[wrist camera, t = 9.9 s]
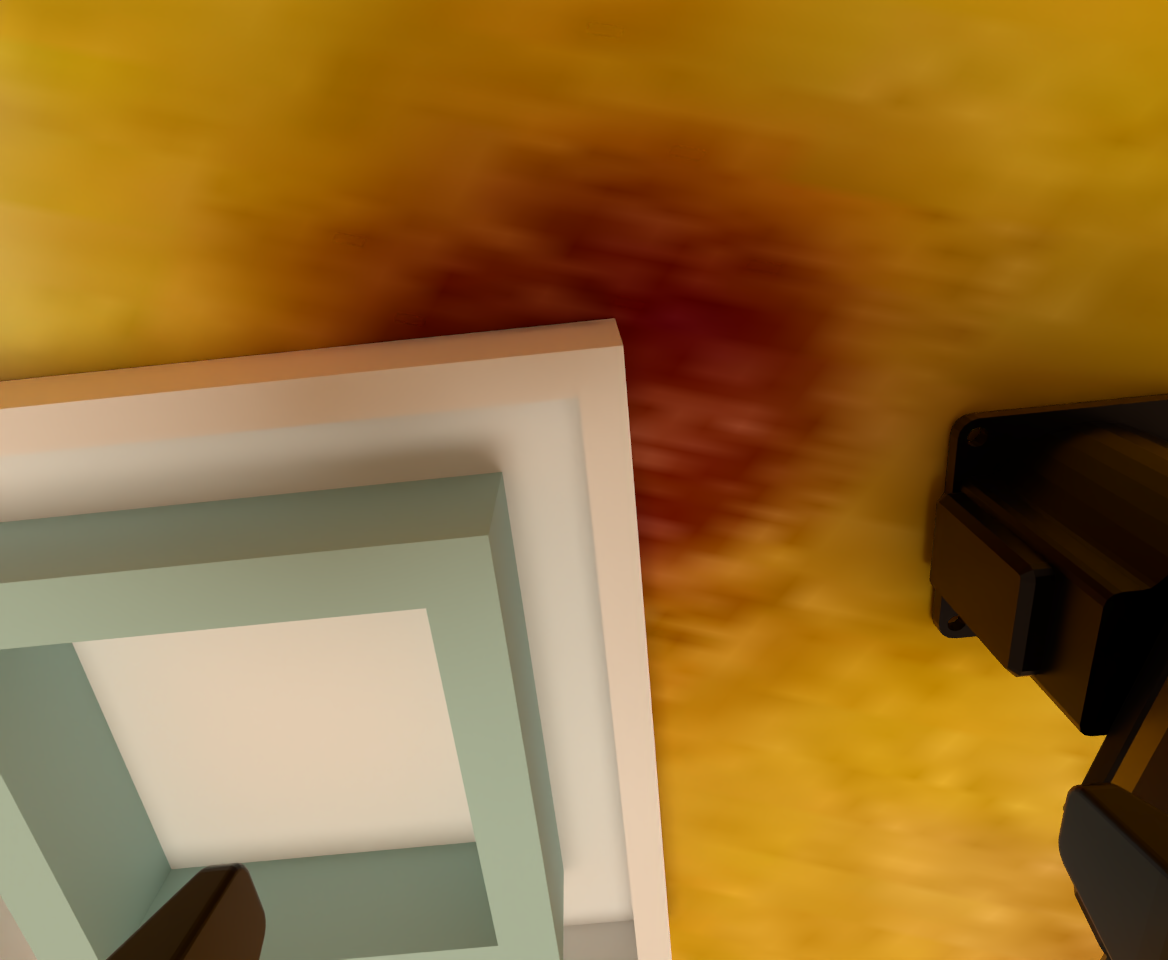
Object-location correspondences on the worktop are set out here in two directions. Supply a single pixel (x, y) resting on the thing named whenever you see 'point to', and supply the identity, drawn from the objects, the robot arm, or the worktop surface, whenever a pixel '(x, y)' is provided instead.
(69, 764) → the shallow green box
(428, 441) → the tray
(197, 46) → the worktop surface
